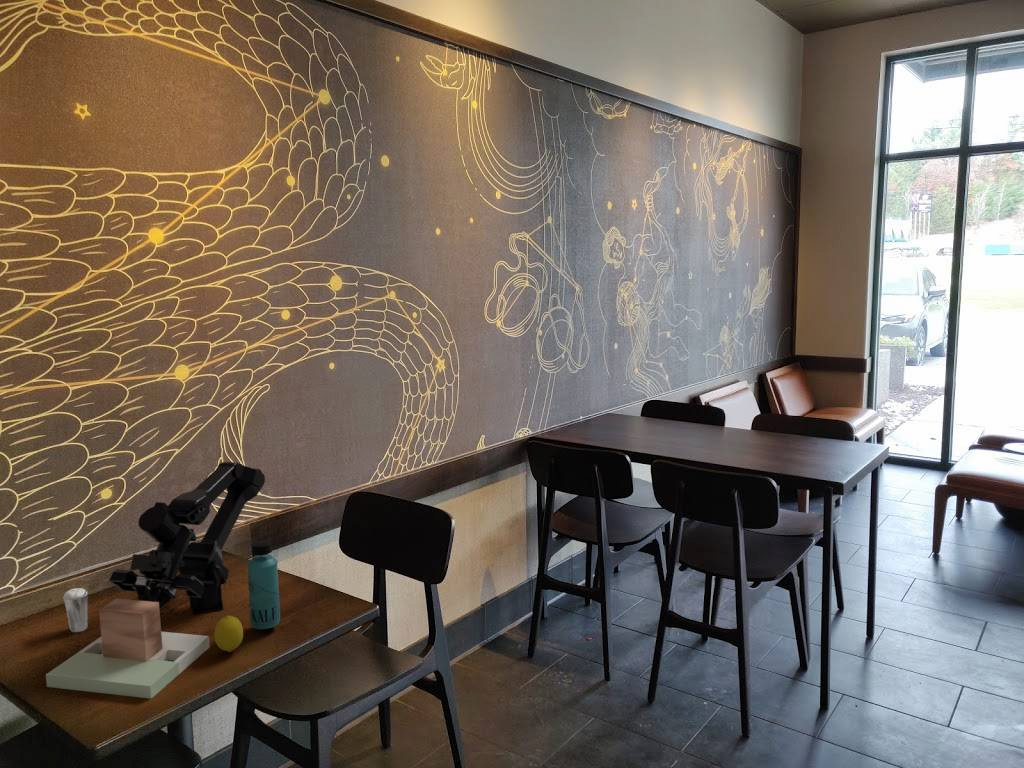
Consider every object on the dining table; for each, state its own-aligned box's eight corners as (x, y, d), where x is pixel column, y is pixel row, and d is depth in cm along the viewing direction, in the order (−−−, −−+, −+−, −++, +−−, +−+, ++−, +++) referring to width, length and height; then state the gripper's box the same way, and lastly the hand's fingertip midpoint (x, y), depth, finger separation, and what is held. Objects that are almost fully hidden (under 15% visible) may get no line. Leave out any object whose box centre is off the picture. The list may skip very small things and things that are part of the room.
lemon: (227, 661, 152) (225, 624, 150) (209, 654, 155) (207, 617, 153) (249, 649, 156) (247, 613, 155) (232, 642, 159) (230, 607, 158)
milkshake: (83, 635, 162) (79, 591, 161) (61, 633, 163) (57, 589, 162) (98, 625, 167) (94, 583, 165) (77, 623, 168) (73, 581, 166)
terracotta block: (120, 644, 153) (116, 598, 152) (162, 648, 152) (158, 602, 150) (103, 657, 149) (98, 609, 147) (146, 661, 147) (142, 613, 145)
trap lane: (115, 638, 161) (114, 627, 161) (209, 647, 157) (208, 636, 157) (46, 686, 143) (45, 674, 142) (151, 698, 139) (150, 686, 138)
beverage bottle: (269, 619, 170) (264, 534, 166) (288, 627, 166) (283, 541, 163) (244, 630, 164) (238, 543, 161) (262, 639, 161) (258, 550, 157)
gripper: (111, 532, 156) (76, 605, 147) (192, 538, 153) (162, 613, 144) (138, 554, 165) (107, 625, 156) (216, 560, 162) (189, 632, 153)
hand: (140, 623), depth 152 cm, fingers closed, pressing on terracotta block
